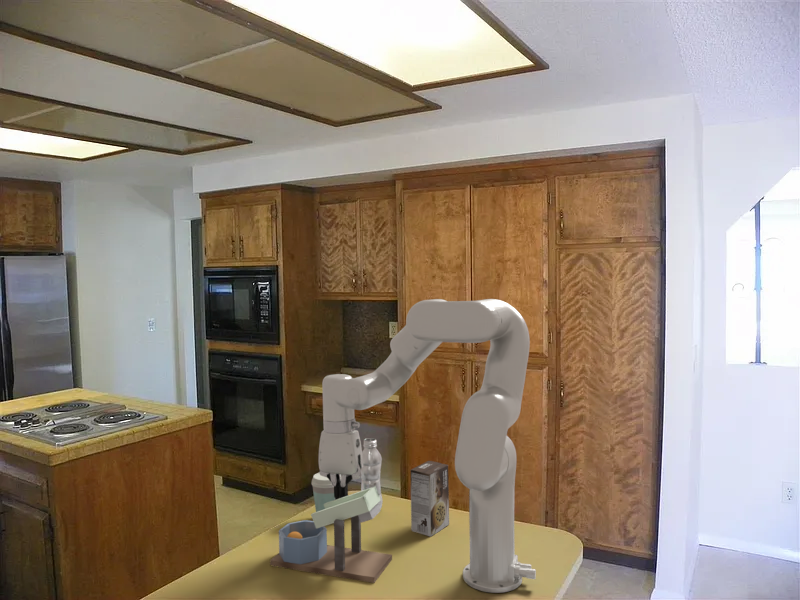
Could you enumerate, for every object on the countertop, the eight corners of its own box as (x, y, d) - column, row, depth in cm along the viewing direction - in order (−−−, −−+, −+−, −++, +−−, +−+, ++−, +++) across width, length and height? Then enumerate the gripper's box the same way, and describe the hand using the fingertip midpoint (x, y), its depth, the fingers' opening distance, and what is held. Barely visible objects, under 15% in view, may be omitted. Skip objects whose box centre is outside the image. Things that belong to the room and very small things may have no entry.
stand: (392, 559, 136) (391, 508, 135) (374, 582, 125) (373, 527, 125) (294, 544, 144) (293, 496, 144) (270, 565, 134) (269, 513, 133)
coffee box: (429, 519, 158) (428, 459, 158) (450, 524, 155) (449, 464, 154) (410, 531, 151) (409, 469, 151) (431, 537, 147) (430, 473, 147)
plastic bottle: (357, 515, 162) (355, 443, 161) (362, 505, 169) (361, 436, 168) (380, 516, 161) (379, 443, 160) (384, 506, 168) (383, 437, 167)
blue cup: (332, 546, 140) (332, 523, 140) (312, 566, 131) (312, 541, 130) (294, 540, 144) (294, 518, 143) (272, 559, 134) (271, 535, 134)
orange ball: (291, 544, 140) (306, 546, 139) (282, 551, 137) (297, 554, 135) (290, 527, 140) (305, 530, 139) (282, 534, 136) (297, 537, 135)
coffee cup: (338, 527, 154) (337, 481, 154) (307, 524, 156) (306, 480, 156) (347, 514, 163) (346, 471, 162) (318, 512, 164) (317, 469, 164)
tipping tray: (393, 498, 139) (384, 477, 140) (372, 520, 127) (363, 496, 128) (343, 515, 144) (335, 494, 144) (319, 537, 132) (310, 514, 132)
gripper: (373, 424, 143) (375, 498, 144) (318, 420, 148) (320, 492, 149) (361, 431, 136) (363, 510, 137) (304, 427, 141) (306, 503, 142)
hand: (341, 500), depth 143 cm, fingers closed
